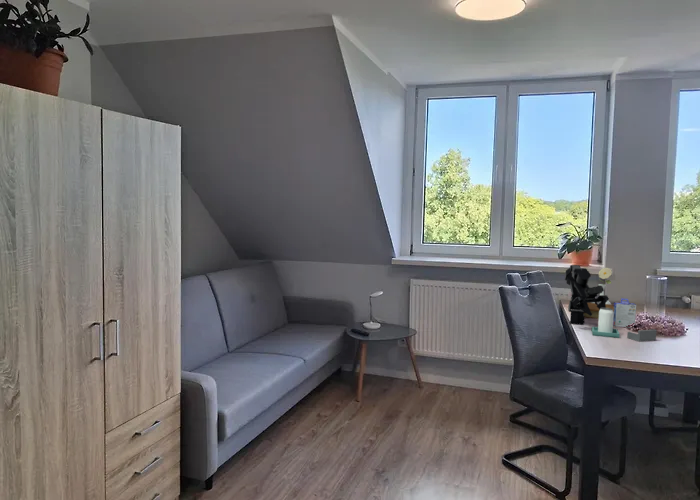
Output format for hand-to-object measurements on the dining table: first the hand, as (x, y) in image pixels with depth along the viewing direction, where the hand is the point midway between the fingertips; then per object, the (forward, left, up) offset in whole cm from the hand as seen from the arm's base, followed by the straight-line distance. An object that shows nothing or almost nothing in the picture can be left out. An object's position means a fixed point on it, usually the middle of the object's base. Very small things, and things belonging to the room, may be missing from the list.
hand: (598, 314), depth 268 cm
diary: (+4, +47, -9) cm, 48 cm away
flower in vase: (+7, +80, -9) cm, 81 cm away
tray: (+3, -4, -9) cm, 10 cm away
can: (+3, -4, -8) cm, 9 cm away
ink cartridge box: (+14, +21, -9) cm, 26 cm away
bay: (+19, -7, -9) cm, 22 cm away
